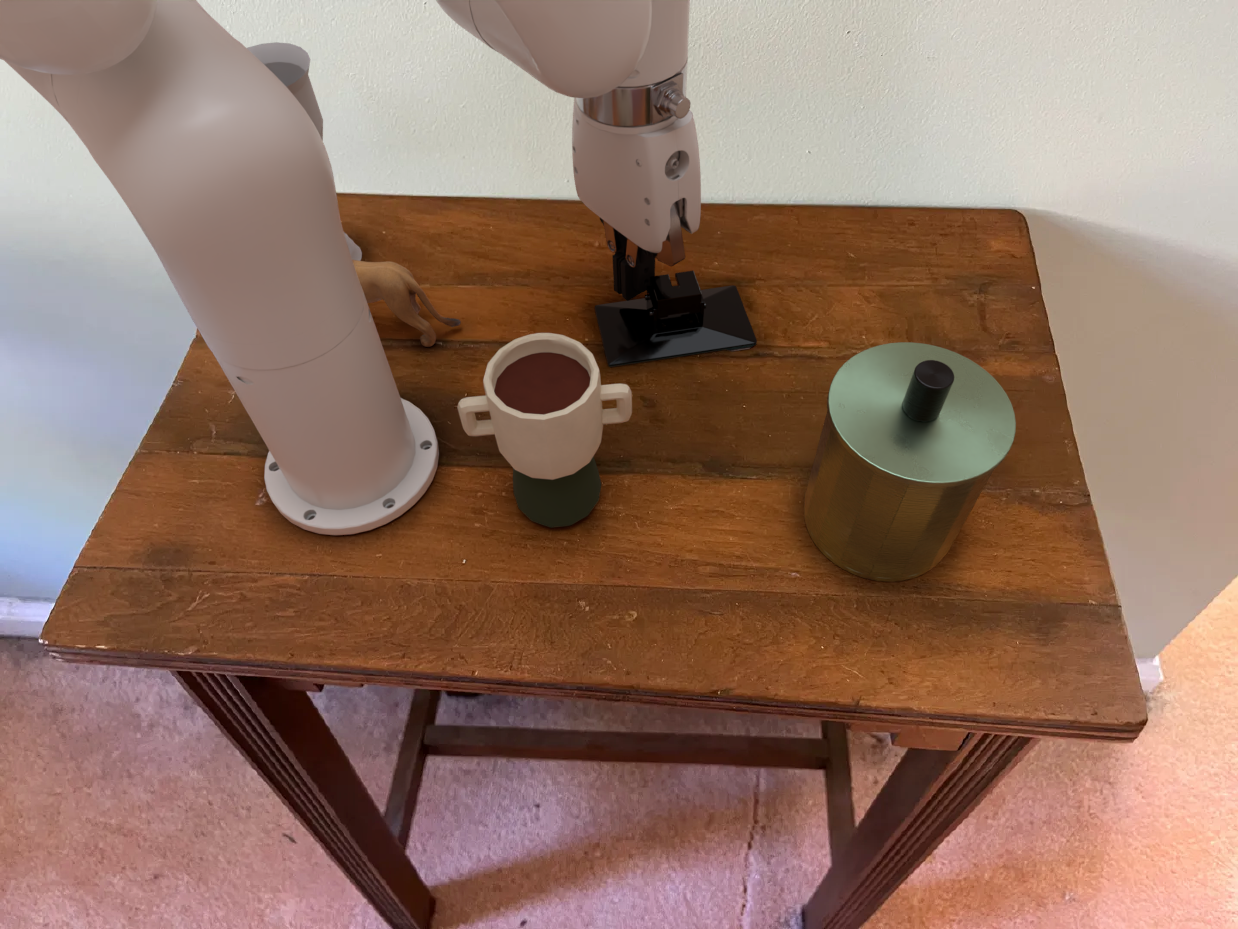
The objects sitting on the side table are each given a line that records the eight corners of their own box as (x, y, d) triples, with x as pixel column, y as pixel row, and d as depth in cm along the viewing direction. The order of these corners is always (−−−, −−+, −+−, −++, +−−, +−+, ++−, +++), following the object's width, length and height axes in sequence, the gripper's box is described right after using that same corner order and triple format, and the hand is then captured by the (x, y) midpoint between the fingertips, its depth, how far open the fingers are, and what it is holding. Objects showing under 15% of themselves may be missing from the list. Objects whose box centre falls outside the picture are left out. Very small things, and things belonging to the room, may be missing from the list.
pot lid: (787, 411, 53) (797, 365, 49) (904, 329, 56) (920, 281, 53) (930, 527, 48) (951, 484, 44) (1047, 427, 51) (1075, 381, 48)
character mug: (628, 449, 65) (625, 324, 54) (638, 529, 61) (637, 410, 50) (482, 462, 64) (451, 339, 54) (483, 544, 60) (449, 428, 50)
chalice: (362, 285, 76) (296, 94, 62) (286, 285, 77) (203, 95, 62) (378, 232, 81) (320, 41, 66) (306, 232, 81) (232, 42, 66)
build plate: (735, 288, 75) (740, 246, 71) (758, 348, 71) (765, 306, 67) (594, 308, 74) (592, 265, 70) (608, 370, 70) (607, 328, 66)
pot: (773, 510, 61) (796, 405, 52) (869, 437, 65) (907, 327, 56) (885, 610, 57) (932, 514, 47) (982, 525, 60) (1043, 420, 51)
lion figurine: (282, 347, 72) (241, 263, 65) (299, 302, 75) (262, 217, 68) (457, 349, 71) (435, 264, 64) (466, 304, 75) (447, 218, 67)
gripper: (749, 108, 56) (728, 314, 71) (603, 22, 63) (612, 226, 78) (663, 155, 53) (660, 359, 68) (520, 59, 60) (545, 264, 75)
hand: (634, 288), depth 73 cm, fingers closed
